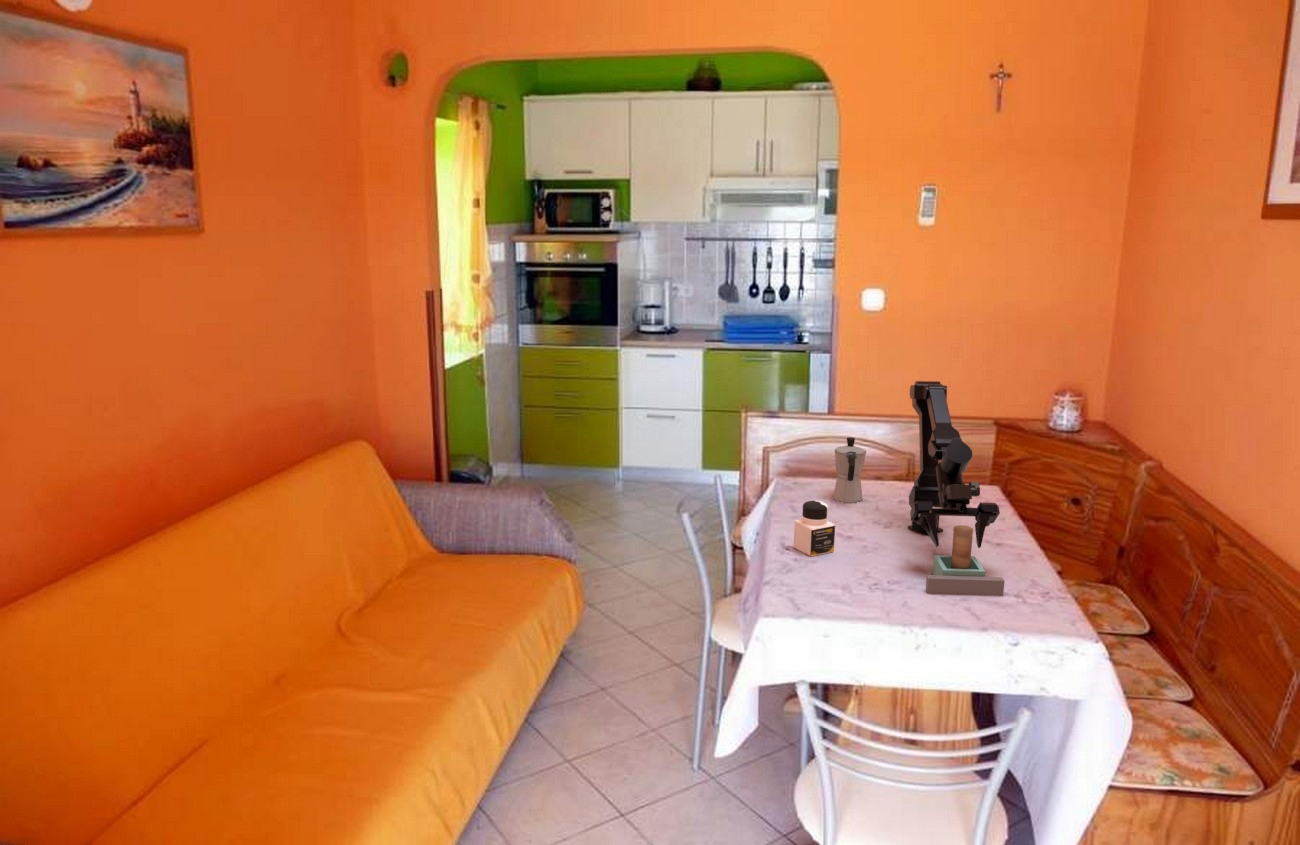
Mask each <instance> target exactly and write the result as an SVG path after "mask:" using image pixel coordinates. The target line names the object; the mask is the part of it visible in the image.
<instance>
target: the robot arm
mask: <svg viewBox="0 0 1300 845" xmlns="http://www.w3.org/2000/svg"><path fill="white" fill-rule="evenodd" d="M909 397H910V399H911V404H912V405H911V406H912V408H913V410H914V411H915V412H916V413H917V415H918V428H919V435H918V436H919V472H918V474H917V476H916V478H915V479H914V480H913V486H912V487H911V489H910V493H909V495H908V506H910V508H911V509H910V512H909V513H910V521H911V525H908V526H907V529H909V530H911V531H913V532H916V533H918V534H921V535H922V536H923V535H924V536H929V538H930V540H931V541H932V543H933V544H934V546H935V547H936V548H938V547H940V546H939V544H940V543H939V536H938V533H941V532H944V529H943V528H940V527H939V525H940V516H941V517H942V516H943V517H944V516H945V517H948V516H949V517H974V519H975V520H974V521H975V524H974V529H975V537H976V538H975V539H976V546H977V548H978V549H980V548H981V547H982V543H983V538H984V535H985V534H984V533H985V530H986V527H987V528H988V527H989V526H990V525H991V524H994V523H995V522H996V520H997V519H998V517H999V515H1000V513H1001V511H1000V507H999V505H998V504H997V503H996V502H979V504H978V506H977V507H967V505H970V503H971V500H973V497H980V496H981V487H980V481H970V482H968V484H966V483H965V482H964V476H963V473H965V471H966V470H967V467H968V466H969V464H970V462H971V460H972V457H973V450H972V448H971V447H970V446H969V445H968V444H967V443H965V442H964V441H963V440H962V437H961V434H960V432H959V431H958V430H957V429H956V428H955V427H954V426H953V424H952V420H951V416H950V411H949V406H948V405H949V404H948V401H947V399H948V385H944V384H941V381H937V380H936V381H935V380H930V381H929V380H928V381H927V380H915V382H914V384H911V385H910V387H909Z"/></svg>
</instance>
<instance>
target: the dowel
mask: <svg viewBox="0 0 1300 845" xmlns="http://www.w3.org/2000/svg"><path fill="white" fill-rule="evenodd" d="M973 534H974V528H973V527H971V526H969V525H961V524H959V525H954V527H953V534H952V535H953V536H952V545H951V546H952V549H951V556H952V558H951V569H970V560H971V556H972V547H973V546H972V545H973V538H974V537H973Z"/></svg>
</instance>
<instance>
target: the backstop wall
mask: <svg viewBox="0 0 1300 845" xmlns="http://www.w3.org/2000/svg"><path fill="white" fill-rule="evenodd" d="M925 581H926V582H925V583H926V584H925V592H926V593H927V594H934V595H935V594H936V595H937V594H938V595H967V596H968V595H970V596H993V597H994V596H998V597H999V596H1002V597H1003V596H1004V591H1005V590H1004V589H1005V579H1004V578H1003V577H1002V576H985V577H977V576H944V575H933V574H927V575H926V580H925Z"/></svg>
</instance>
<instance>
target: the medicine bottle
mask: <svg viewBox="0 0 1300 845" xmlns="http://www.w3.org/2000/svg"><path fill="white" fill-rule="evenodd" d="M828 516H829V505H828V504H827V503H826V502H823V501H820V500H808V501H806V502H804V503H803V504H802V517H801V518H799V519H796V520H794V526H793V527H794V528H793V548H794V549H796V550H797V551H800V552H801V553H803V554H806V555H807V556H809V557H816V556H820V555H821V556H822V555H825V554H829V553H834V552H835V539H836V538H835V534H836V525H835V523H833V522H831V521H829V520H828V518H829V517H828Z"/></svg>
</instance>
